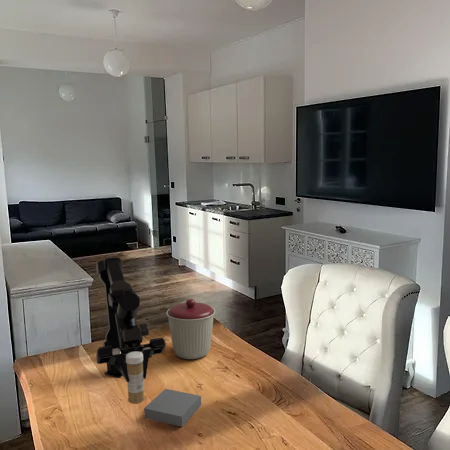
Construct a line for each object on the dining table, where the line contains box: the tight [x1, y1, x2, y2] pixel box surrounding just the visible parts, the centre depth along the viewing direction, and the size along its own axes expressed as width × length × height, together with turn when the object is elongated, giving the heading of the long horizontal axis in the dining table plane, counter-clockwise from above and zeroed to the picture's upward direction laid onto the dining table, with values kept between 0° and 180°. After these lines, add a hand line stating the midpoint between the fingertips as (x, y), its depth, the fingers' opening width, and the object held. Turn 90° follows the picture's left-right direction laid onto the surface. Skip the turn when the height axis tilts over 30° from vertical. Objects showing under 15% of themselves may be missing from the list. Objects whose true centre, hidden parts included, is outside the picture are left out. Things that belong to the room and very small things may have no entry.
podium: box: [143, 388, 202, 428], centre depth 135 cm, size 12×12×3 cm
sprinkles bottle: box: [126, 351, 145, 405], centre depth 128 cm, size 5×5×13 cm
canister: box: [165, 298, 216, 360], centre depth 174 cm, size 18×18×21 cm
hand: (136, 380), depth 127 cm, fingers closed on sprinkles bottle, 4 cm apart
